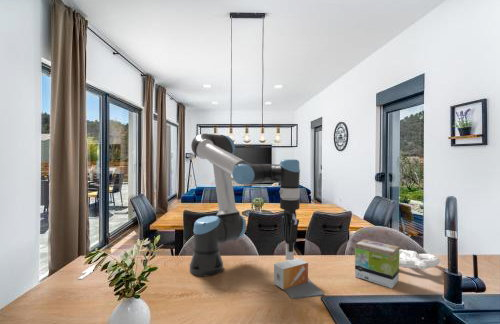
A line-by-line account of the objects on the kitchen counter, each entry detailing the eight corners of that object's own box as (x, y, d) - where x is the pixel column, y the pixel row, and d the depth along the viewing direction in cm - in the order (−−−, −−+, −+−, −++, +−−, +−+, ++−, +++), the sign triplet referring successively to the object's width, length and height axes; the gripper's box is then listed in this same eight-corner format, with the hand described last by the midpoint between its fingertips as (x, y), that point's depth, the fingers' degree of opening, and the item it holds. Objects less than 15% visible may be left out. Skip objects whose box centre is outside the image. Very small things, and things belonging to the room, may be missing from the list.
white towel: (363, 263, 131) (362, 250, 132) (392, 257, 143) (390, 244, 144) (422, 277, 107) (420, 260, 108) (450, 268, 119) (448, 253, 120)
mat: (277, 280, 108) (277, 279, 108) (306, 277, 111) (306, 276, 111) (291, 298, 93) (291, 297, 93) (324, 295, 96) (324, 293, 96)
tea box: (354, 277, 111) (354, 243, 111) (362, 270, 119) (362, 238, 119) (393, 289, 101) (393, 251, 101) (399, 281, 108) (399, 245, 109)
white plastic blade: (69, 280, 108) (69, 277, 108) (91, 266, 123) (91, 264, 123) (82, 280, 108) (82, 277, 108) (102, 266, 123) (102, 263, 123)
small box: (283, 269, 99) (308, 262, 106) (273, 263, 104) (297, 257, 111) (283, 290, 99) (308, 282, 106) (273, 283, 104) (297, 276, 111)
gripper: (275, 196, 107) (275, 254, 107) (286, 201, 94) (286, 266, 94) (292, 196, 109) (292, 252, 108) (305, 200, 96) (305, 264, 96)
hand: (289, 259), depth 101 cm, fingers closed
